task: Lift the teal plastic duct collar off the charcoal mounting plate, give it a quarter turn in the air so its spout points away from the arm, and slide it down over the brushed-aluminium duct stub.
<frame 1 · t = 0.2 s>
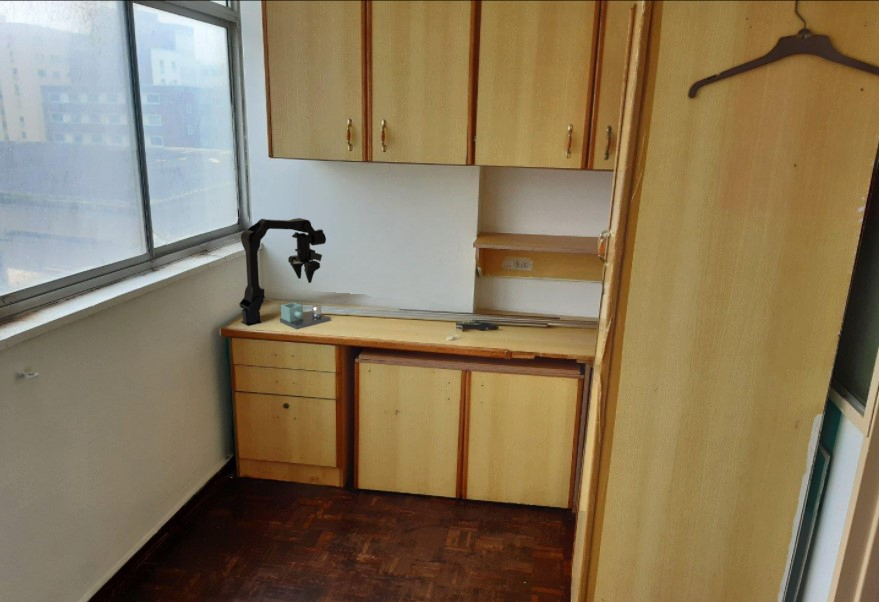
hand: (304, 280, 291), 14 cm above the table, tool pointing down, fingers open, 9 cm apart
duct collar: (292, 318, 278), point 1 cm above the table, touching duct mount
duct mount: (305, 321, 280), on the table
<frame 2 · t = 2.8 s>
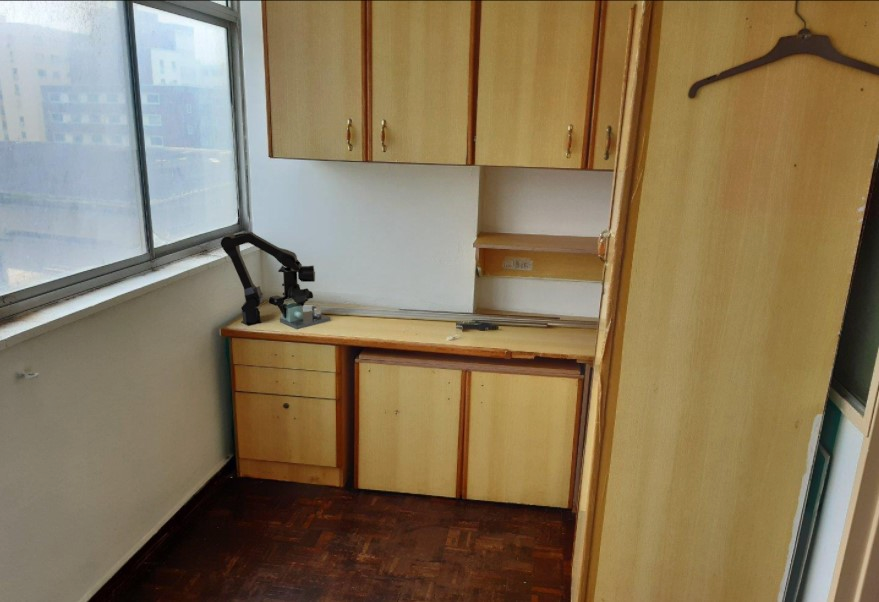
hand: (292, 316, 278), 3 cm above the table, tool pointing down, fingers closed on duct collar, 7 cm apart
duct collar: (292, 318, 278), point 1 cm above the table, touching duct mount, gripper
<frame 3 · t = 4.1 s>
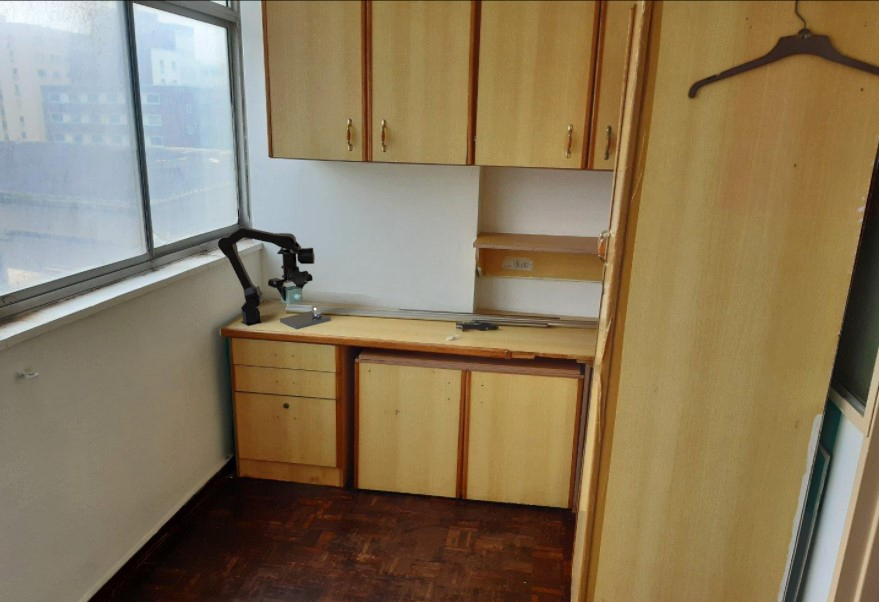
hand: (291, 299, 276), 10 cm above the table, tool pointing down, fingers closed on duct collar, 7 cm apart
duct collar: (291, 301, 276), point 9 cm above the table, touching gripper
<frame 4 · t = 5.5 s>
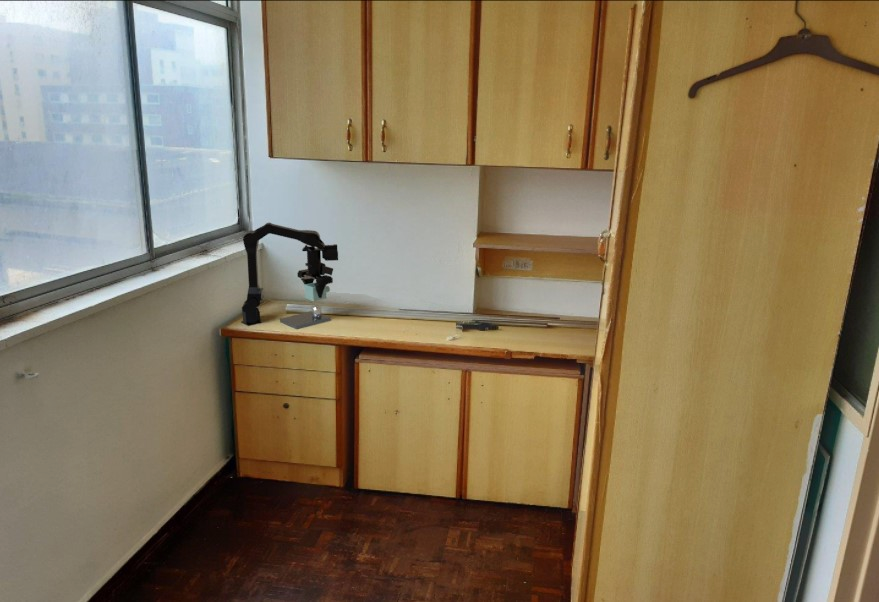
hand: (315, 296, 278), 11 cm above the table, tool pointing down, fingers closed on duct collar, 7 cm apart
duct collar: (315, 298, 278), point 10 cm above the table, touching gripper
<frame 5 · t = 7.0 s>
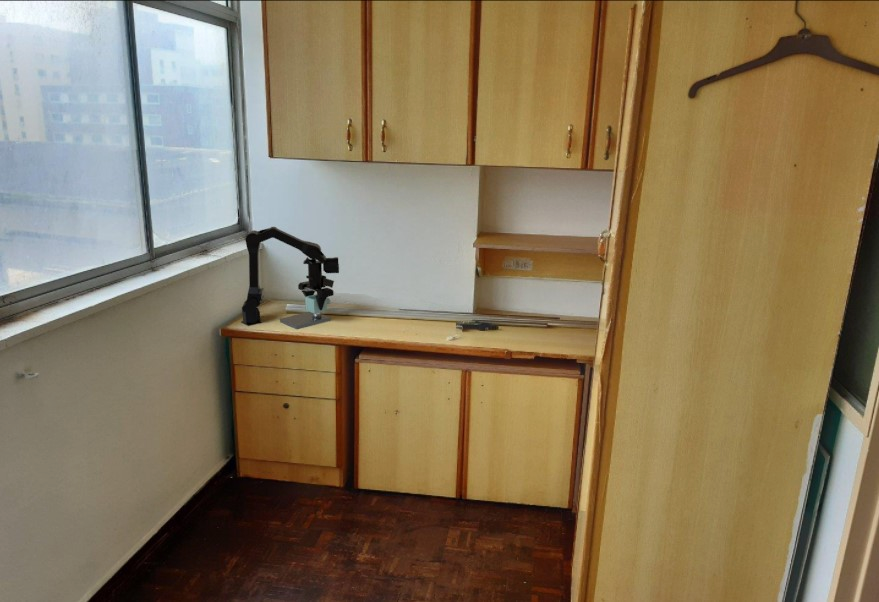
hand: (316, 308, 280), 6 cm above the table, tool pointing down, fingers closed on duct collar, 7 cm apart
duct collar: (316, 310, 280), point 5 cm above the table, touching gripper
when the fingers open (4 cm above the table, at t = 8.2 s): duct collar drops 1 cm, resting on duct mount.
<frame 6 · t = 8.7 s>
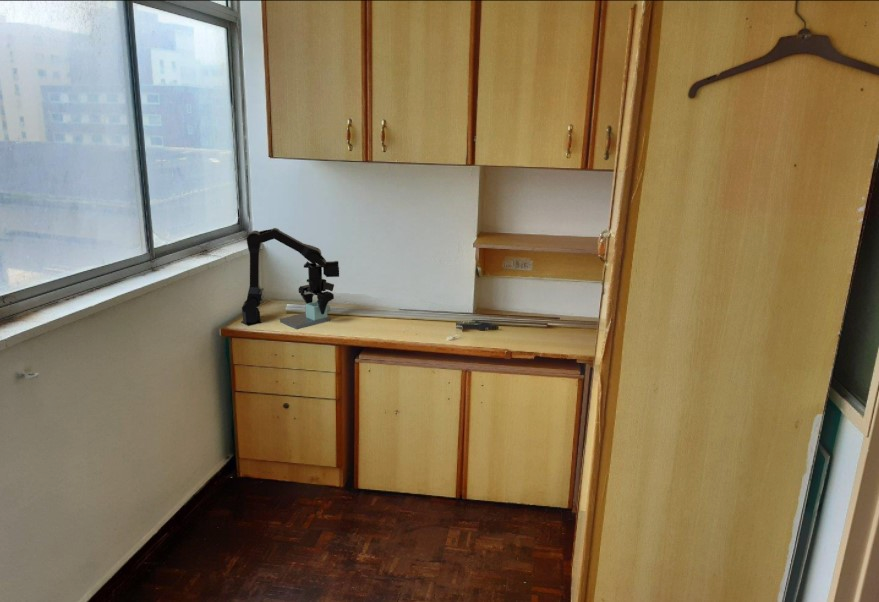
hand: (316, 311, 280), 4 cm above the table, tool pointing down, fingers open, 9 cm apart
duct collar: (316, 317, 281), point 1 cm above the table, touching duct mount
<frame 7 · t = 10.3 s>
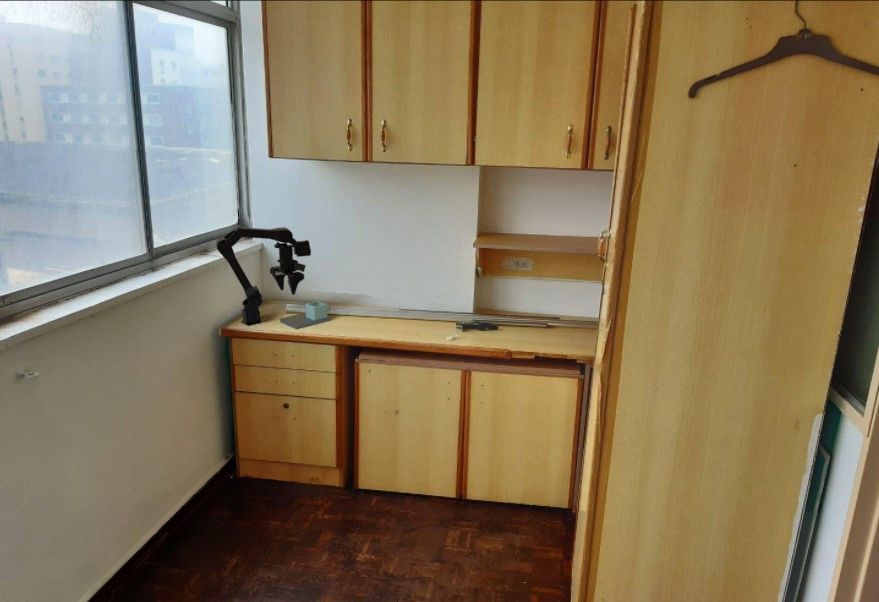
hand: (287, 292, 280), 12 cm above the table, tool pointing down, fingers open, 9 cm apart
nothing on the table moved.
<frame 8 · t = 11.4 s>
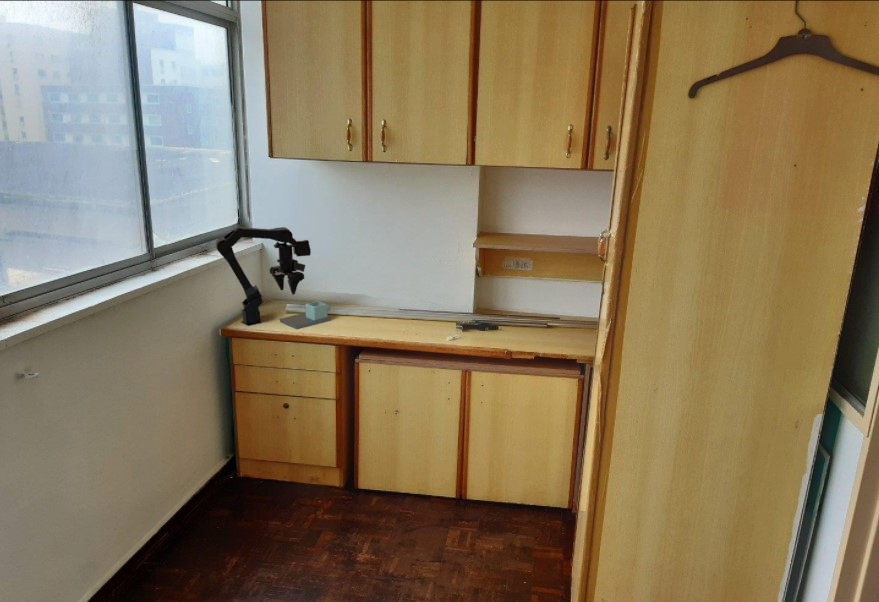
hand: (287, 292, 280), 12 cm above the table, tool pointing down, fingers open, 9 cm apart
nothing on the table moved.
at the end: duct collar 0.1 cm from the target spot on the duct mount, point 1.5 cm above the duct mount's base; duct collar tilted 0°; the gripper is holding nothing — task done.
